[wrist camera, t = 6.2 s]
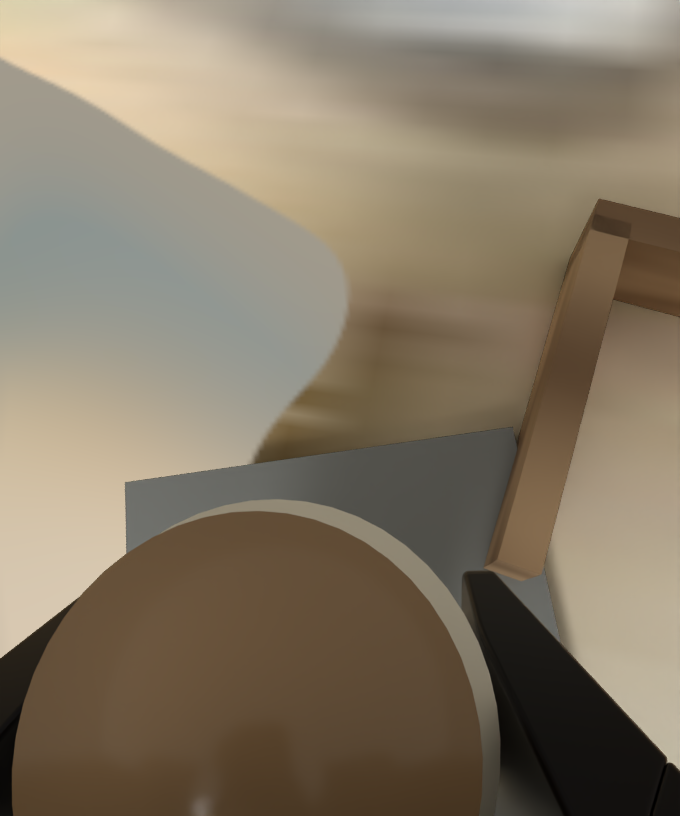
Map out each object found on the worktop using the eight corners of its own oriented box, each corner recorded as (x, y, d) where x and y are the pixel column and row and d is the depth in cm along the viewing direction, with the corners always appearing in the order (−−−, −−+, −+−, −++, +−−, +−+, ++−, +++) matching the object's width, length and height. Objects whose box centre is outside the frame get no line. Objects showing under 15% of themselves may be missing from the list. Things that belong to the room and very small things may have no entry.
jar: (475, 718, 14) (639, 888, 5) (291, 828, 14) (89, 1240, 5) (374, 534, 16) (351, 396, 6) (204, 629, 15) (-87, 630, 6)
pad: (608, 883, 15) (616, 892, 15) (144, 938, 16) (134, 950, 15) (509, 433, 19) (512, 426, 18) (132, 486, 19) (124, 482, 18)
